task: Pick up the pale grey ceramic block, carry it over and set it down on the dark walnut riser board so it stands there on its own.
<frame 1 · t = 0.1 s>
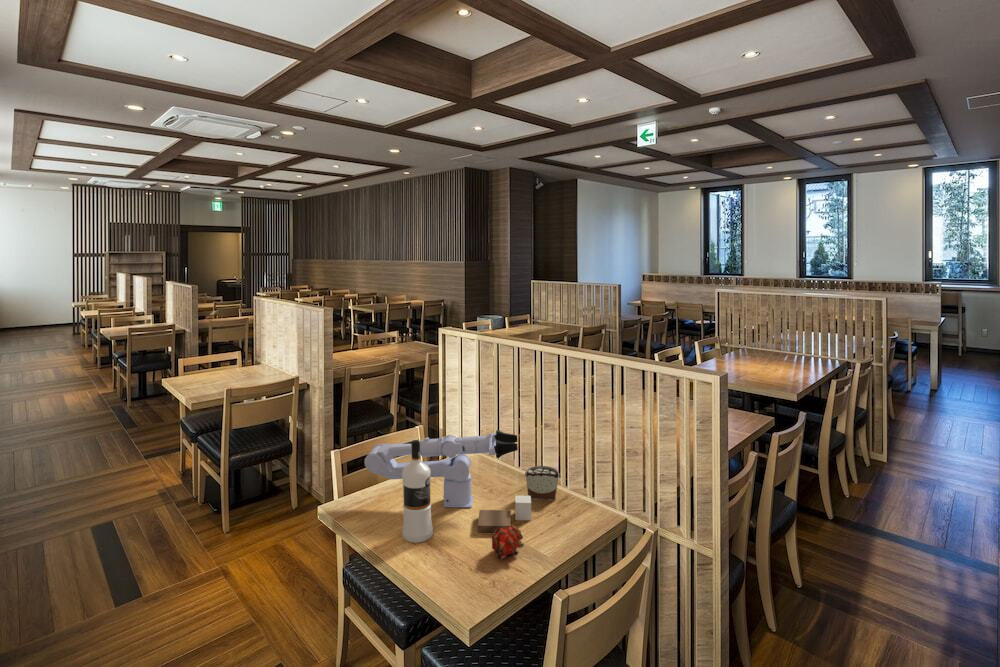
hand: (517, 442, 180), 22 cm above the table, tool horizontal, fingers open, 7 cm apart
food container: (542, 496, 189), on the table
walnut riser: (494, 526, 168), on the table
vodka: (417, 536, 162), on the table
ceramic block: (522, 516, 174), on the table
dragon fruit: (506, 554, 153), on the table
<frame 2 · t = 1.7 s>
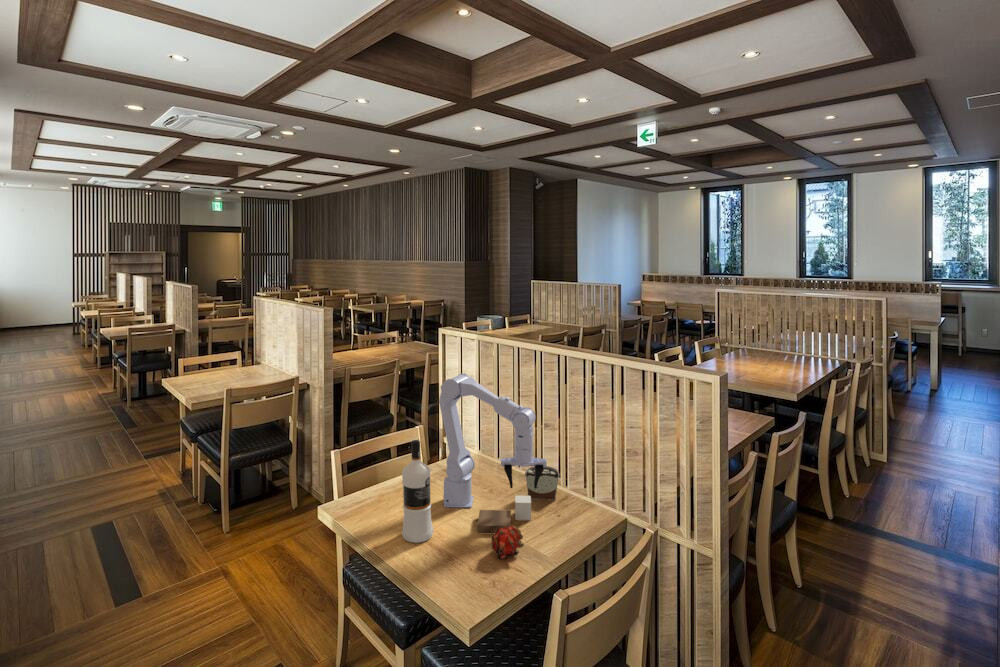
hand: (523, 487, 173), 10 cm above the table, tool pointing down, fingers open, 7 cm apart
nothing on the table moved.
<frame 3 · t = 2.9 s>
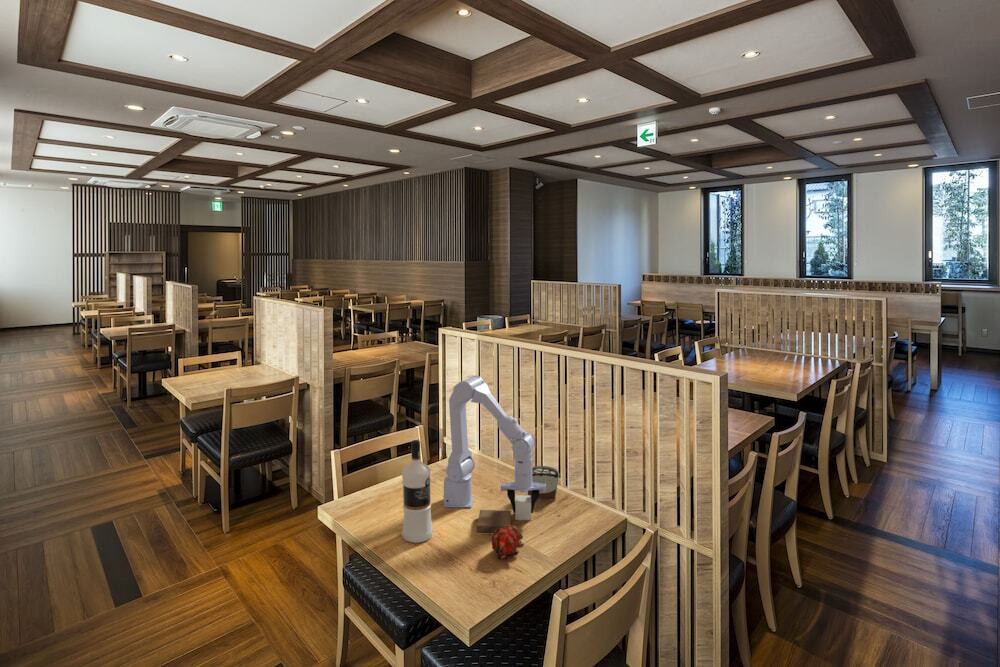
hand: (523, 511, 174), 2 cm above the table, tool pointing down, fingers closed on ceramic block, 5 cm apart
ceramic block: (522, 516, 174), on the table, touching gripper
everything else where it was.
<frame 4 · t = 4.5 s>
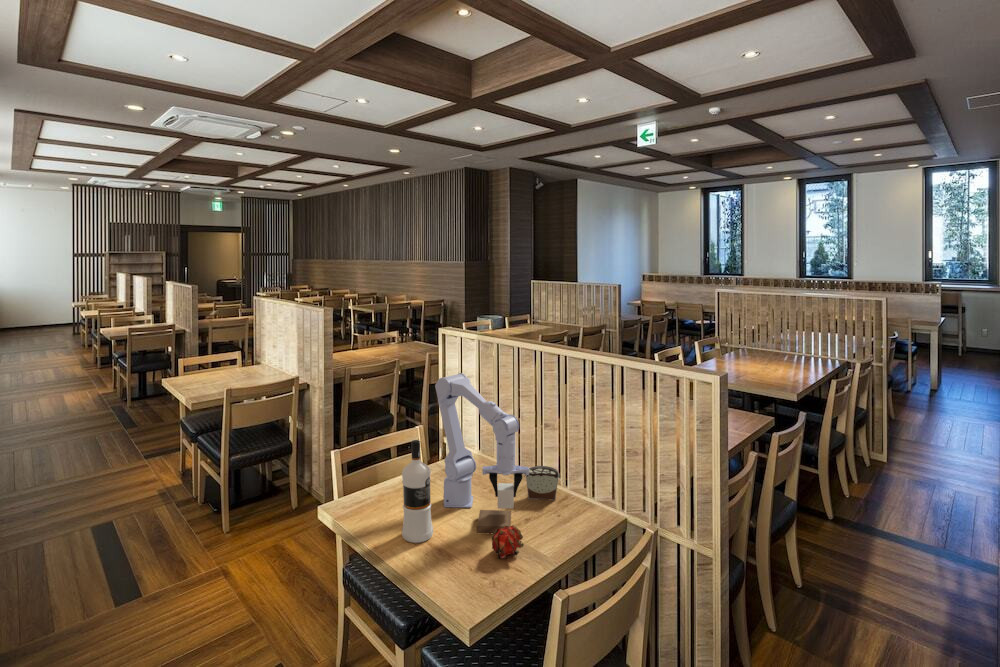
hand: (505, 495, 169), 9 cm above the table, tool pointing down, fingers closed on ceramic block, 5 cm apart
ceramic block: (505, 504, 170), point 6 cm above the table, touching gripper
everything else where it was.
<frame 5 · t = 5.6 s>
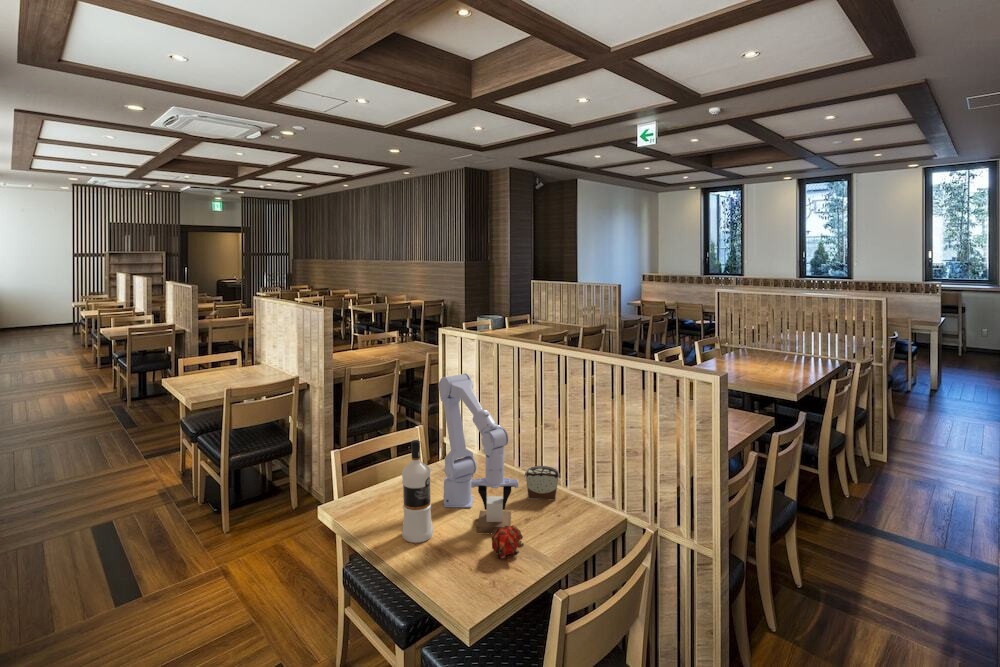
hand: (494, 508, 168), 6 cm above the table, tool pointing down, fingers closed on ceramic block, 5 cm apart
ceramic block: (494, 517, 168), point 2 cm above the table, touching gripper
everything else where it was.
when the fingers open (6 cm above the table, at t = 5.9 s): ceramic block stays where it is, resting on walnut riser.
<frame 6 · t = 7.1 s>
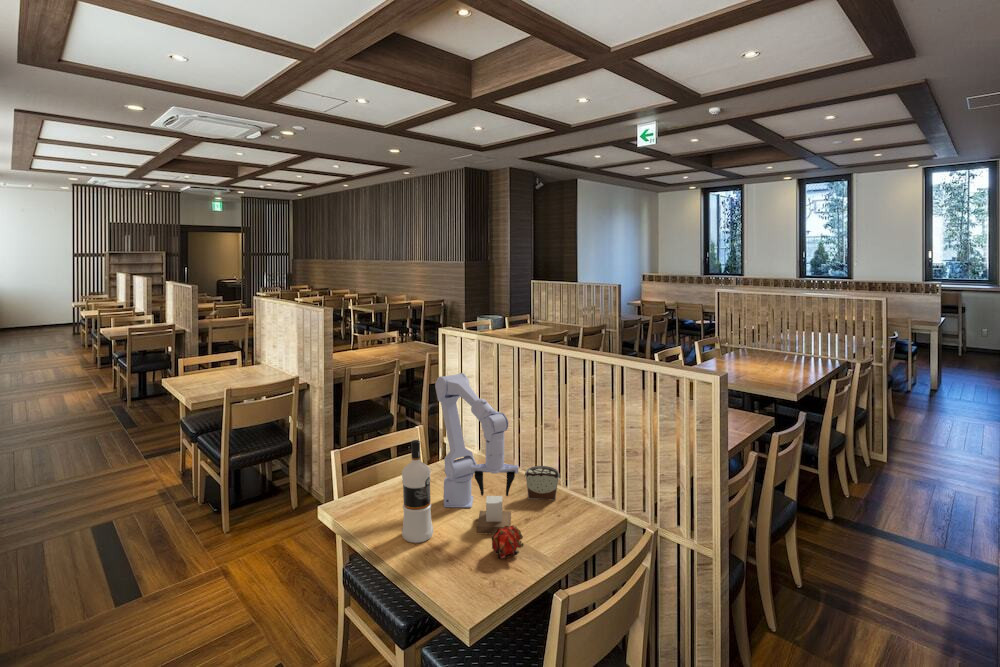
hand: (494, 494, 167), 10 cm above the table, tool pointing down, fingers open, 7 cm apart
walnut riser: (494, 527, 168), on the table, touching ceramic block
ceramic block: (494, 517, 168), point 2 cm above the table, touching walnut riser
everything else where it was.
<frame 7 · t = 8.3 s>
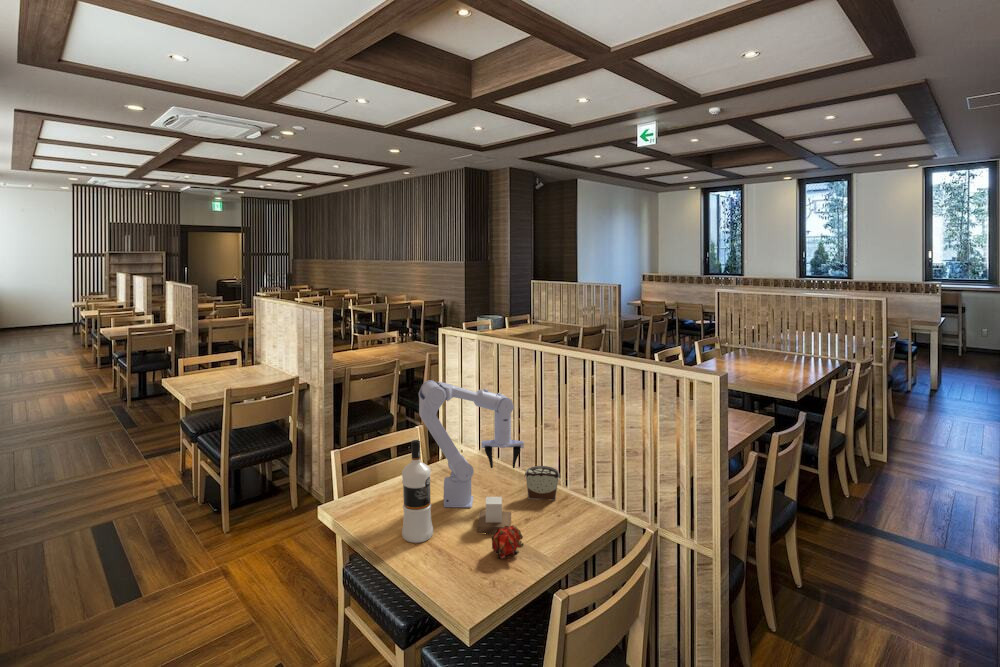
hand: (502, 466, 188), 10 cm above the table, tool pointing down, fingers open, 7 cm apart
walnut riser: (494, 527, 168), on the table
ceramic block: (493, 518, 168), point 2 cm above the table
everything else where it was.
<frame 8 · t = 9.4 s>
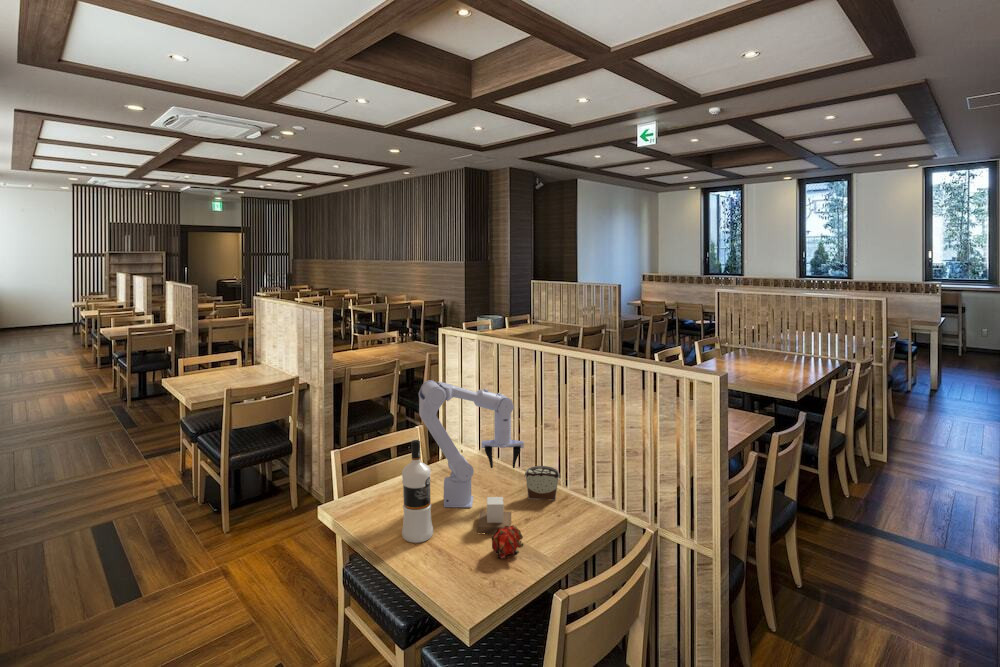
hand: (502, 466, 188), 10 cm above the table, tool pointing down, fingers open, 7 cm apart
walnut riser: (494, 527, 168), on the table, touching ceramic block
ceramic block: (494, 518, 168), point 2 cm above the table, touching walnut riser
everything else where it was.
at the end: ceramic block inside the target area on the walnut riser (0.1 cm from its centre), point 3.0 cm above the walnut riser's base; ceramic block touching walnut riser; ceramic block tilted 0° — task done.
